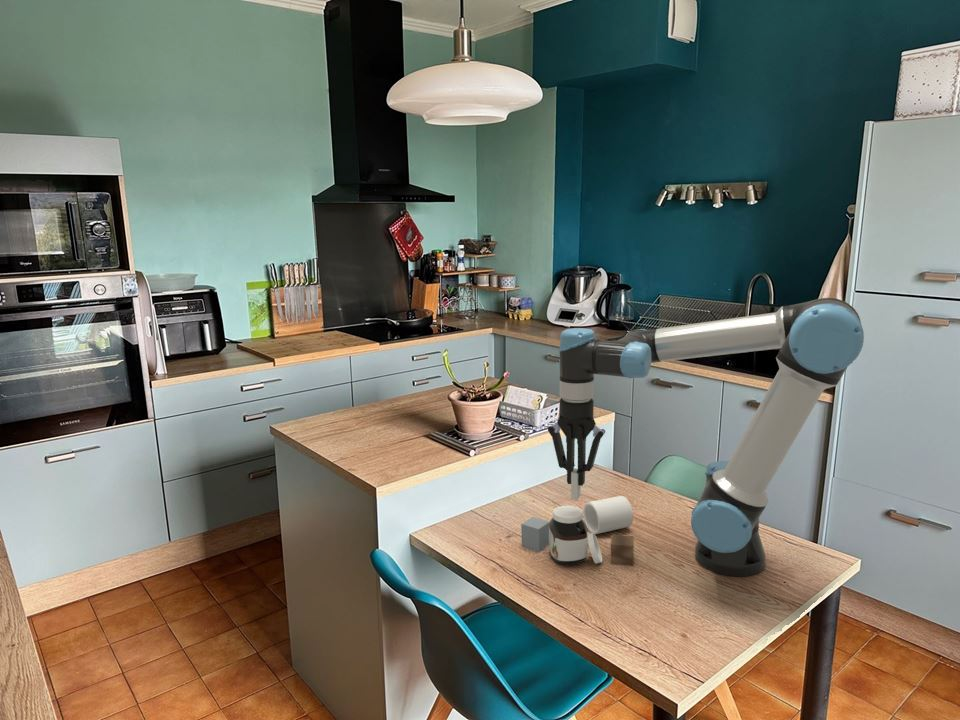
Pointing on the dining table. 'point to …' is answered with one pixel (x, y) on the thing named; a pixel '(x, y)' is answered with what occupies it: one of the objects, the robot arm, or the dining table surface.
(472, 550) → the dining table surface
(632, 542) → the walnut block
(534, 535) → the slate block
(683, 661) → the dining table surface
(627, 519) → the mug
